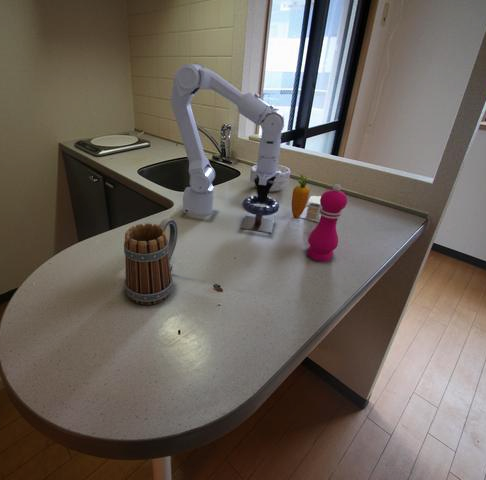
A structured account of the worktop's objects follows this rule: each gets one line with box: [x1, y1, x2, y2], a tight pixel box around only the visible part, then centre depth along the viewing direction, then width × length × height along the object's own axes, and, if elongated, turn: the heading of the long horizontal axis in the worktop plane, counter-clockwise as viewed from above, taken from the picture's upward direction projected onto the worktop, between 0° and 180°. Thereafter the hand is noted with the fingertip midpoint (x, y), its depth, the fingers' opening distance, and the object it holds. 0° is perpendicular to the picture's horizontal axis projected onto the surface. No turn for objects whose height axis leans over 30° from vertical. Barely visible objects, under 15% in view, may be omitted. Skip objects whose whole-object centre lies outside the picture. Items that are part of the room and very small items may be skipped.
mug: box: [123, 217, 179, 306], centre depth 69 cm, size 16×11×15 cm
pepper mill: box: [306, 183, 348, 263], centre depth 80 cm, size 7×7×20 cm
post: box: [240, 215, 275, 234], centre depth 96 cm, size 9×9×6 cm
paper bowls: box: [249, 164, 291, 192], centre depth 125 cm, size 15×15×8 cm
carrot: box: [291, 173, 311, 220], centre depth 99 cm, size 5×5×15 cm
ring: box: [241, 195, 280, 217], centre depth 94 cm, size 11×11×2 cm
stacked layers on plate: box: [299, 195, 322, 223], centre depth 105 cm, size 10×9×6 cm
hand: (262, 199), depth 97 cm, fingers closed on ring, 2 cm apart
